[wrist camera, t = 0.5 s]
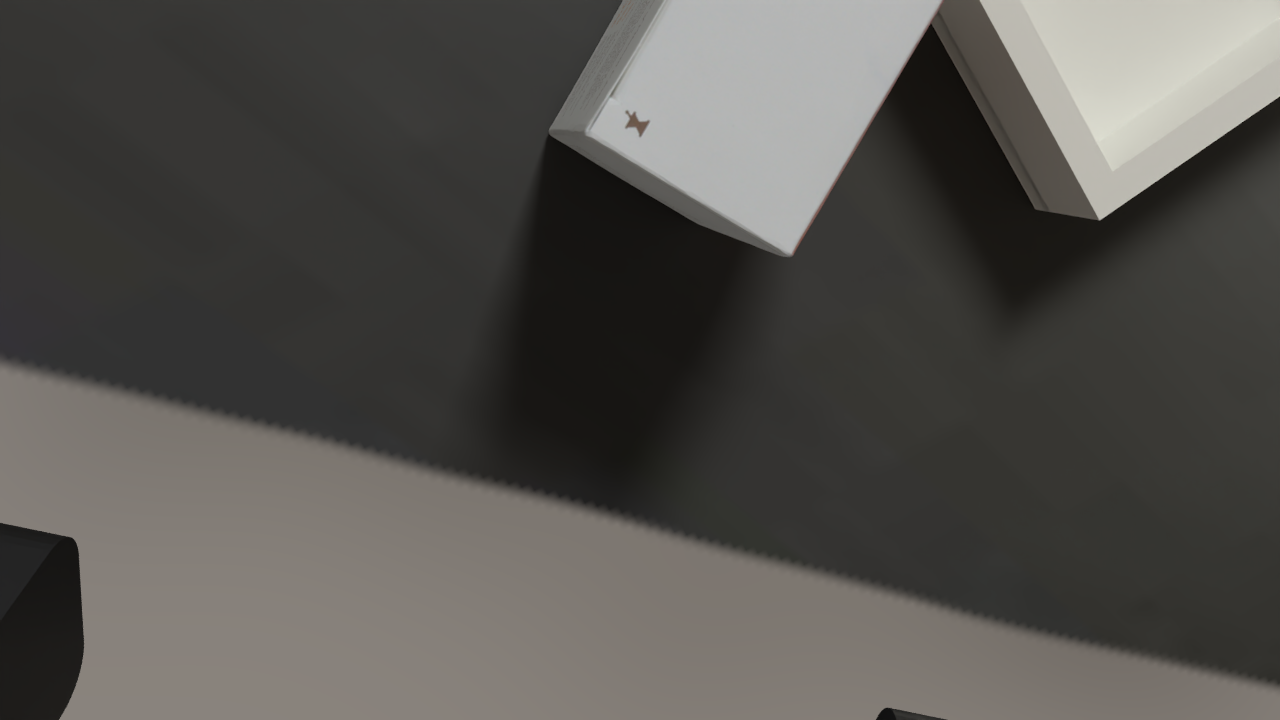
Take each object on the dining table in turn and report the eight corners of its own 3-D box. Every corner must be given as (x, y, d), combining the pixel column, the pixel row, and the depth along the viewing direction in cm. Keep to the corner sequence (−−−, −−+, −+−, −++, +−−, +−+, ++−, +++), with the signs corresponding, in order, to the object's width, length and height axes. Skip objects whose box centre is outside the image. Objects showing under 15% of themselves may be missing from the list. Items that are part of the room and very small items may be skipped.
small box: (698, 226, 37) (789, 271, 27) (542, 132, 36) (576, 141, 26) (834, -2, 37) (981, -45, 26) (679, -107, 35) (771, -195, 25)
